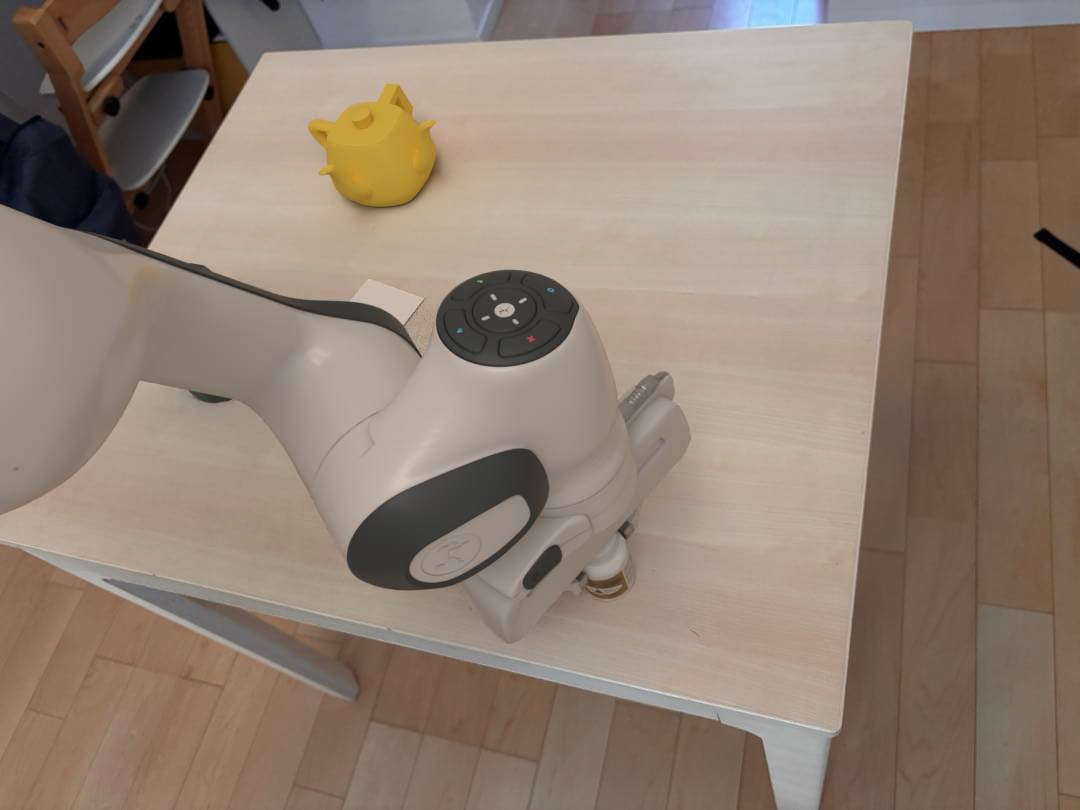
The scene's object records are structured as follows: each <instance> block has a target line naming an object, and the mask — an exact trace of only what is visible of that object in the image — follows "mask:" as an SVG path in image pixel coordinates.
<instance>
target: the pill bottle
mask: <svg viewBox="0 0 1080 810" xmlns="http://www.w3.org/2000/svg"><path fill="white" fill-rule="evenodd" d="M582 571H583V572H584V573H586V574H587V576H588V580H589V581H590V582H589V583H588V585H587V586H586V587H585V588H584V589H583V590H584V591H585V592H586V593H587V594H588V595H589V596H590V597H591V598H593V599H595V600H597V601H602V602H613V601H614V602H615V601H618V600H619V599H621V598H623V597H624V596H626V595H627V594H628V593H629V592H630V591H631V589H632V588H633V586H634V584H635V580H636V570H635V565H634V562H633V559H632V555H631V553H630V549H629V546H628V543H627V540H625V539H624V537H623V536H622V534H621V533H620V532H619V531H618V530H617V531H616V533H615V534H614V535H613V536H612V537H611V538H610V539H609V541H608V542H607V543H606V544H605V545H604V546H603V547H602V549H601V550H600V551H599V552H598V553H597V554H596V555H595V556H594V558H593V559H592V560H591V561H590V562H589V563H588V564H587V566H586V567H585V568H584V569H583V570H582Z"/></svg>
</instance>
